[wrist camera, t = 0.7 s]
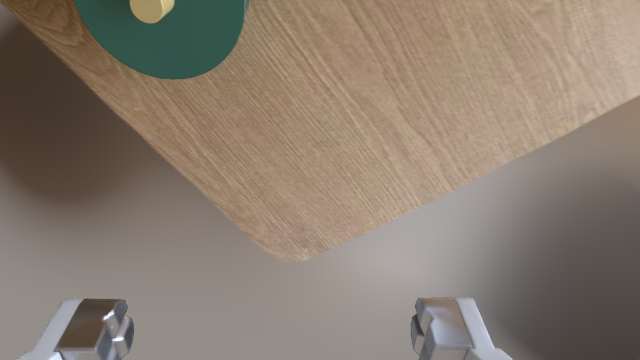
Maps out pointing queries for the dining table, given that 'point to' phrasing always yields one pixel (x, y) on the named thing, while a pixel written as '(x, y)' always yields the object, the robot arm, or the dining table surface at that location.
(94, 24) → the lid
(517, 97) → the dining table surface
